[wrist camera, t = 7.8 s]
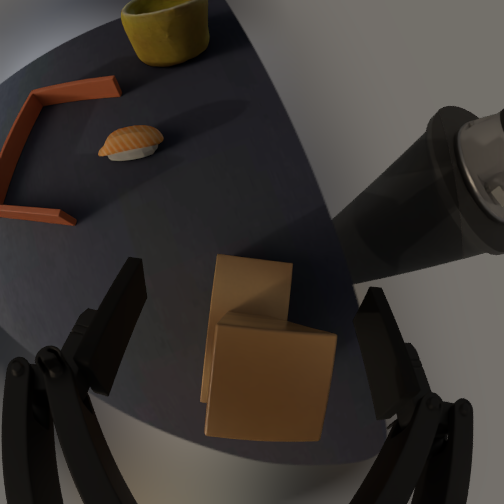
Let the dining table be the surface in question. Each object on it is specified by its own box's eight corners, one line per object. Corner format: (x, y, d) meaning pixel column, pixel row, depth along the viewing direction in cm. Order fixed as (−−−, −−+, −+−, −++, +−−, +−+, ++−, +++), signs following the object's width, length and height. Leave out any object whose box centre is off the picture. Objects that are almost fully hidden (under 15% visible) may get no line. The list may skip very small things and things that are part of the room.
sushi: (166, 157, 23) (159, 139, 20) (101, 170, 23) (88, 155, 20) (166, 133, 24) (159, 114, 21) (103, 147, 23) (92, 130, 20)
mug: (228, 58, 24) (192, -20, 15) (142, 90, 26) (96, 28, 17) (227, 21, 28) (201, -35, 19) (159, 46, 30) (128, -3, 21)
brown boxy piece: (219, 261, 22) (192, 165, 7) (283, 269, 22) (383, 195, 7) (205, 387, 20) (159, 521, 5) (269, 394, 20) (330, 527, 5)
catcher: (122, 93, 24) (114, 75, 21) (75, 226, 22) (58, 216, 19) (42, 103, 24) (31, 90, 21) (-3, 216, 21) (-20, 208, 18)
